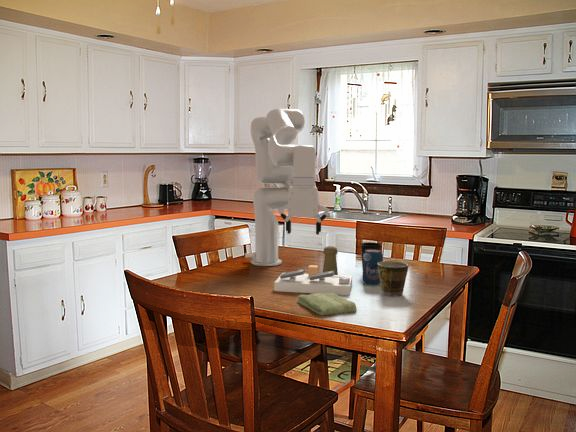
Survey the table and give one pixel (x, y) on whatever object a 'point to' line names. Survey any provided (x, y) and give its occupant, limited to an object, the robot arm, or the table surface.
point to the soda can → (371, 266)
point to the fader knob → (312, 269)
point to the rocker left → (292, 274)
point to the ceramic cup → (392, 277)
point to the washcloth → (327, 303)
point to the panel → (315, 284)
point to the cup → (369, 246)
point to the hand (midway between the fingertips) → (303, 233)
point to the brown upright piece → (330, 260)
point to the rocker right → (322, 275)
